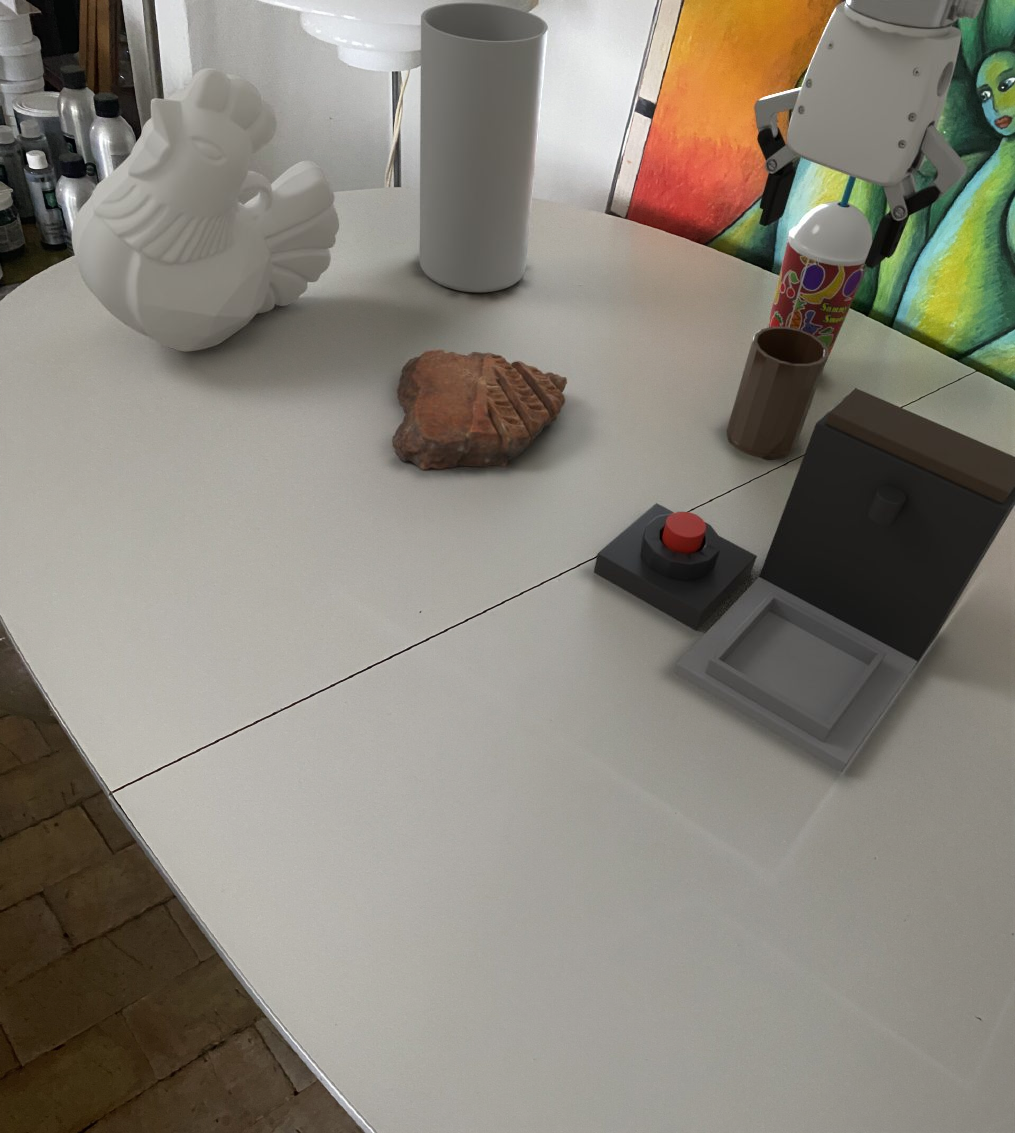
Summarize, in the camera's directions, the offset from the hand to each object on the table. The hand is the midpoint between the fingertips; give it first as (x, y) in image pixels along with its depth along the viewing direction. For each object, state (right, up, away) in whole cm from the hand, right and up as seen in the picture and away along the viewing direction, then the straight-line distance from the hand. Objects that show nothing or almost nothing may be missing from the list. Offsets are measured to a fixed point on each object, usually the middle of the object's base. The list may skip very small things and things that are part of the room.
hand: (821, 241), depth 79 cm
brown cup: (-1, -13, +15) cm, 20 cm away
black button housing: (-12, -28, +1) cm, 30 cm away
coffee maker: (-2, -34, -4) cm, 35 cm away
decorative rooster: (-55, 0, +21) cm, 59 cm away
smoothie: (+4, -3, +24) cm, 25 cm away
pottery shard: (-29, -11, +14) cm, 34 cm away
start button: (-12, -25, -2) cm, 28 cm away
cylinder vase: (-30, +12, +34) cm, 47 cm away
